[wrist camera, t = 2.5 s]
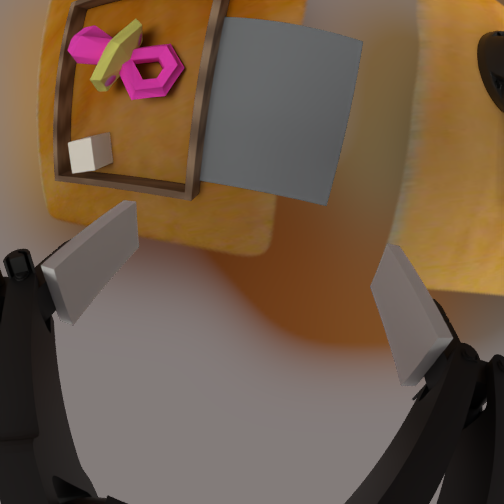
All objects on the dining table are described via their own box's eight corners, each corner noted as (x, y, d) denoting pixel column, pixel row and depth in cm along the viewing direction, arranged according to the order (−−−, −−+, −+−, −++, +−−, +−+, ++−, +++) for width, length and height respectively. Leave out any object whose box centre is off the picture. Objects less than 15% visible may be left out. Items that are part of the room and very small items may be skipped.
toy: (154, 119, 35) (154, 104, 26) (60, 78, 27) (38, 57, 18) (189, 65, 34) (201, 38, 25) (97, 27, 26) (86, -4, 17)
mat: (225, 17, 26) (224, 16, 26) (362, 42, 25) (363, 41, 25) (200, 179, 38) (199, 180, 38) (326, 205, 38) (326, 205, 37)
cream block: (87, 136, 36) (67, 142, 32) (110, 132, 36) (90, 137, 31) (91, 165, 39) (72, 173, 35) (113, 162, 38) (95, 170, 34)
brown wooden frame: (84, 5, 24) (71, 2, 21) (233, -16, 23) (227, -26, 20) (67, 174, 40) (55, 180, 37) (199, 192, 39) (191, 200, 36)
